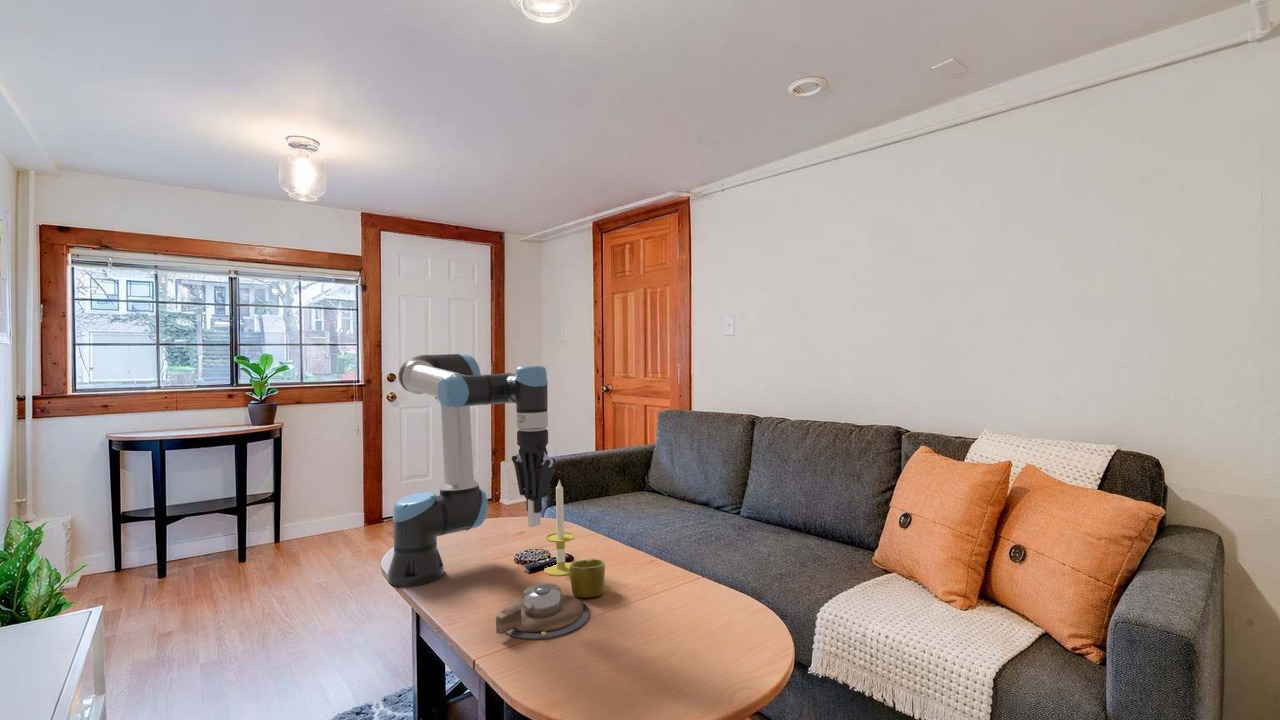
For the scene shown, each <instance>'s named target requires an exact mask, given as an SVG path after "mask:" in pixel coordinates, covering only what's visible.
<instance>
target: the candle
mask: <svg viewBox="0 0 1280 720" xmlns="http://www.w3.org/2000/svg"><path fill="white" fill-rule="evenodd" d="M555 501H556V502H555V503H556V505H555V510H556V515H555V516H556V517H555V518H556V532H552V533H550V534H548V535H546V537H545V539H546V541H548V542H551V543H555V544H556V545H555V547H556V549H555V550H556V563H557V564H556V565H553V566H551V567H547V566H546V567H547V568H545V567H544V570H543V572H544V573H545V574H546V575H548V576H553V577H564V576H570V564H571V563H572V562H566V542H570V541H573V540H574V539H575V537H576V535H575V534H574V533H573V532H568V531H565V526H564V525H565V523H564V522H565V521H564V520H565V519H564V516H565V515H564V514H565V513H564V511H565V510H564V487H563V486H562V484H561V480H560V479H558V483H557V486H556V487H555Z"/></svg>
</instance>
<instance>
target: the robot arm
mask: <svg viewBox="0 0 1280 720" xmlns="http://www.w3.org/2000/svg"><path fill="white" fill-rule="evenodd" d="M398 381H399V383H400V386H401V387H402V388H403V389H404V390H405V391H407V392H409V393H412V394H416V395H422V394H426V395H429V396H432V397H434V398H435V401H436V402H438V403H439V404H440V415H441V416H440V417H441V419H440V420H441V434H442V435H441V437H442V454H443V455H442V456H443V457H442V458H443V475H444V476H443V477H444V482H443V484H442V485H441V486H440V488H439V495H436V493H435V492H432V491H424V492H416V493H412V494H409V495H406V496H404V497H401V498H400V499H399V500H397V501H396V502H395V503H394V505H393V512H392V514H393V515H392V522H393V556H392V558H391V562H390V565H389V568H388V572H387V582H388V583H389V584H390V585H391V586H392V585H393V586H397V587H414V586H421V585H424V584H425V585H426V584H428V583H431V582H432V583H433V582H434V581H436V580H439V579H440V578H442V576H443V575H444V574H445V570H444V569H445V567H444V563H443V560H442V557H441V554H440V552H439V549H438V541H437V540H438V538H437V537H440V536H445V535H448V534H453V533H459V532H463V531H470V530H472V529H476V528H479V527H480V526H482V525H483V523H484V521H485V520H486V517H487V514H488V509H489V508H488V507H489V501H488V497H487V493H486V492H485V490H484V488H483V489H482V488H480V483H479V482H478V481H476V480H475V478H474V462H473V461H474V460H473V455H474V454H473V441H472V440H473V439H472V421H471V420H472V418H471V417H472V416H471V407H472V406H485V405H501V404H516V405H515V407H516V428H517V429H519V430H517V431H516V444H517V446H518V447H519V448H518V453H517V454H516V455H512V456H511V461H512V463H513V465H514V469H515V474H516V475H515V476H516V480H517V486H518V492H519V495H520V496H524V498H525V500H526V501H525V502H526V512H527V517H528V518H527V521H528V522H527V526H528V527H530V528H534V527H535V528H536V527H537V526H540V525H542V524H541V523H542V521H541V518H542V517H541V513H542V510H543V508H542V507H543V506H542V504H543V503H542V500H543V499H544V498H546V497H548V496H549V493H550V486H551V478H552V473H553V468H554V466H555V464H556V459H555V458H551V457H550V456H549V455H548V450H547V445H548V444H549V430H548V429H547V428H548V427H549V416H548V414H549V413H548V408H549V407H548V406H549V405H548V384H549V382H548V376H547V368H546V367H545V366H543V365H527V366H526V365H524V366H522V365H521V366H517V367H516V369H515V373H512V372H506V373H505V372H504V373H493V374H491V373H490V374H481V369H480V366H479V364H478V362H477V360H476V359H475V358H474V356H472V355H469V354H461V353H455V354H452V353H451V354H449V353H448V354H421V355H416V356H413V357H411V358H409V359H407V360H406V361H405V362H404V363H403V364H402V365H401V367H400V368H399V372H398Z"/></svg>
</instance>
